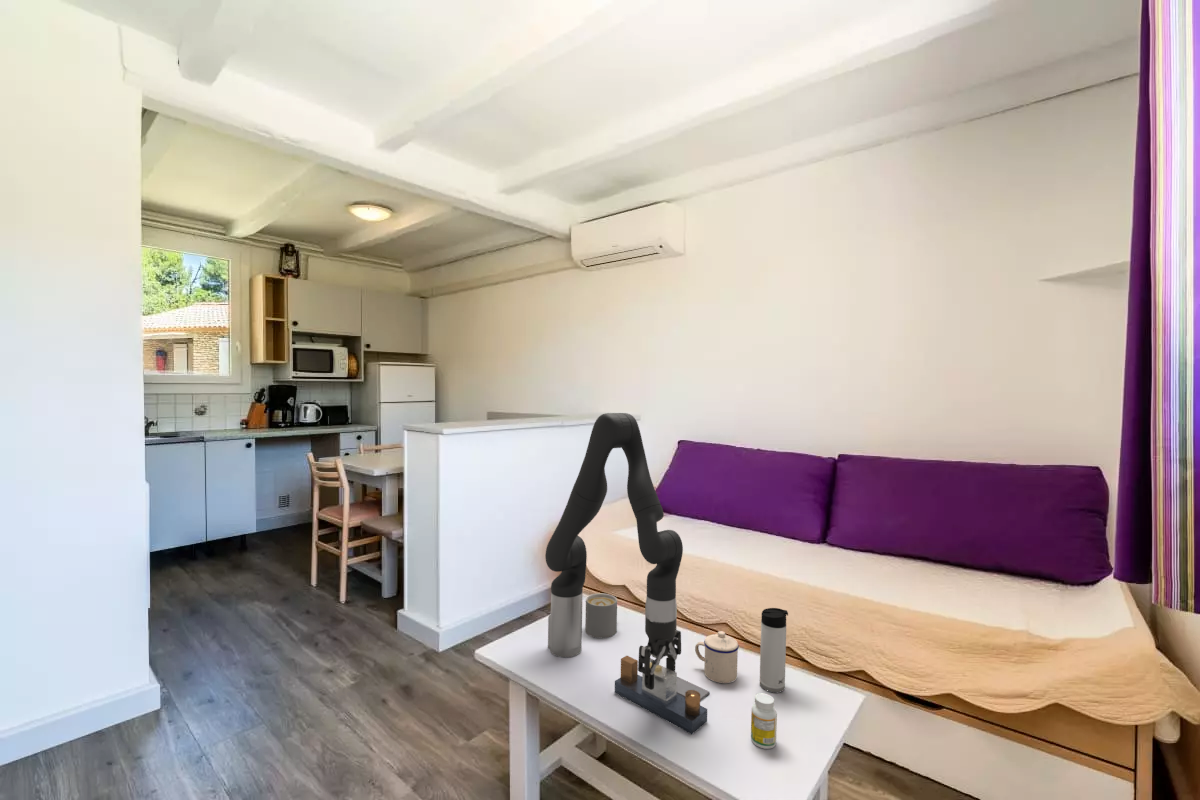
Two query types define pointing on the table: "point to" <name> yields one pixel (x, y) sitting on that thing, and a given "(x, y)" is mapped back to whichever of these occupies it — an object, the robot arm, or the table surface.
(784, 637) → the travel mug
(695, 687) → the rubber mat
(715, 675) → the teacup with lid
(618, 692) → the hand plane
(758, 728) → the supplement bottle
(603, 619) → the coffee mug
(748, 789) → the table surface
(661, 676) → the lever cap
